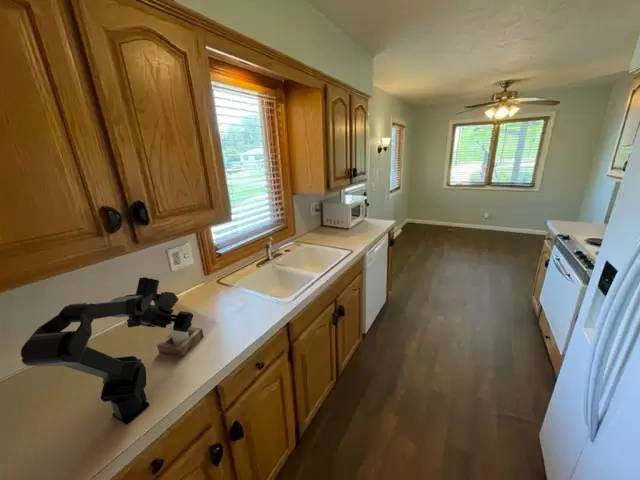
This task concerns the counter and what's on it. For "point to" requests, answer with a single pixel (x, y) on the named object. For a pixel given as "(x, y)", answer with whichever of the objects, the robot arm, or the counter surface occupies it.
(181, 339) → the eye dropper bottle
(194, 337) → the socket block
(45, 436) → the counter surface
